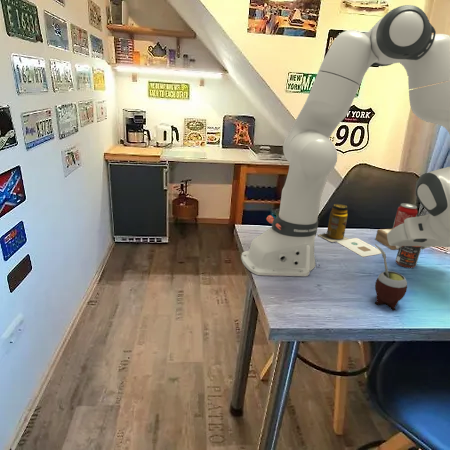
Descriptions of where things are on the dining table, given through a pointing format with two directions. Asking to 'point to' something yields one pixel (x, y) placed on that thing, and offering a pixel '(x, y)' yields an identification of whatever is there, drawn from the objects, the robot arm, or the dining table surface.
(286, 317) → the dining table surface
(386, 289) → the mate gourd
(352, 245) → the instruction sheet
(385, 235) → the pedestal
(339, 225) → the condiment
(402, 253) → the supplement bottle
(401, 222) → the soda can
